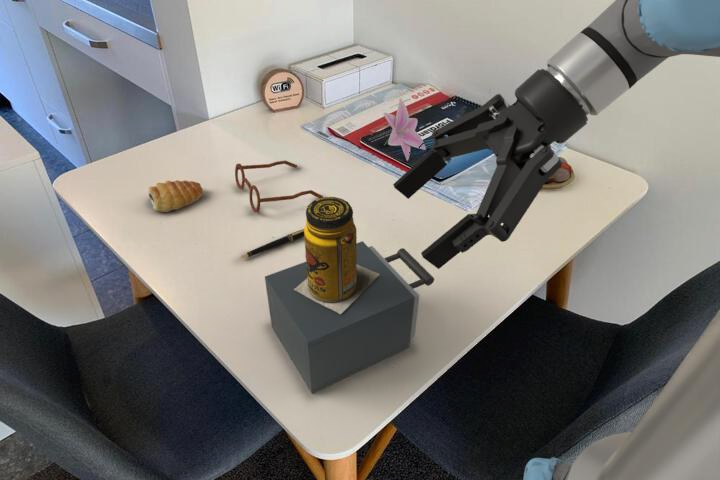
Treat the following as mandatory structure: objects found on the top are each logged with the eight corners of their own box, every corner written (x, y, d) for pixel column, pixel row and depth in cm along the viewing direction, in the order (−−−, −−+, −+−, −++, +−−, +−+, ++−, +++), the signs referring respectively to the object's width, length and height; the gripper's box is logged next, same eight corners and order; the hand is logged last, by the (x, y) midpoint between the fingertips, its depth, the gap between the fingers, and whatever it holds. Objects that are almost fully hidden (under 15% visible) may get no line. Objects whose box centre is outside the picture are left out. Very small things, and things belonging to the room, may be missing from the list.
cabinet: (361, 290, 78) (362, 240, 72) (409, 347, 70) (414, 296, 64) (271, 327, 73) (264, 276, 67) (311, 394, 64) (307, 343, 58)
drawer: (393, 276, 80) (396, 236, 75) (439, 325, 72) (445, 284, 67) (288, 319, 73) (283, 278, 68) (325, 378, 65) (323, 336, 60)
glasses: (234, 183, 101) (230, 160, 98) (297, 167, 106) (295, 145, 103) (257, 218, 92) (254, 195, 89) (324, 199, 97) (323, 176, 94)
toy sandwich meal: (585, 187, 101) (592, 166, 98) (522, 196, 99) (527, 175, 96) (552, 156, 111) (557, 136, 108) (493, 163, 108) (497, 143, 105)
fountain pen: (240, 263, 83) (239, 256, 82) (237, 259, 84) (235, 252, 83) (317, 232, 89) (317, 225, 89) (314, 228, 90) (313, 221, 89)
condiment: (293, 290, 65) (285, 211, 57) (334, 254, 70) (332, 178, 63) (340, 315, 61) (338, 235, 54) (380, 276, 67) (383, 198, 59)
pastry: (196, 184, 101) (193, 167, 98) (209, 202, 96) (205, 184, 94) (147, 199, 97) (142, 182, 94) (157, 218, 92) (152, 200, 90)
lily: (377, 170, 107) (402, 138, 101) (355, 128, 112) (377, 95, 106) (420, 171, 115) (445, 141, 108) (397, 131, 119) (420, 100, 113)
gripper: (654, 175, 46) (467, 314, 53) (534, 72, 65) (408, 184, 72) (618, 124, 42) (421, 281, 49) (501, 30, 61) (372, 152, 68)
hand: (413, 223), depth 61 cm, fingers open, 13 cm apart
